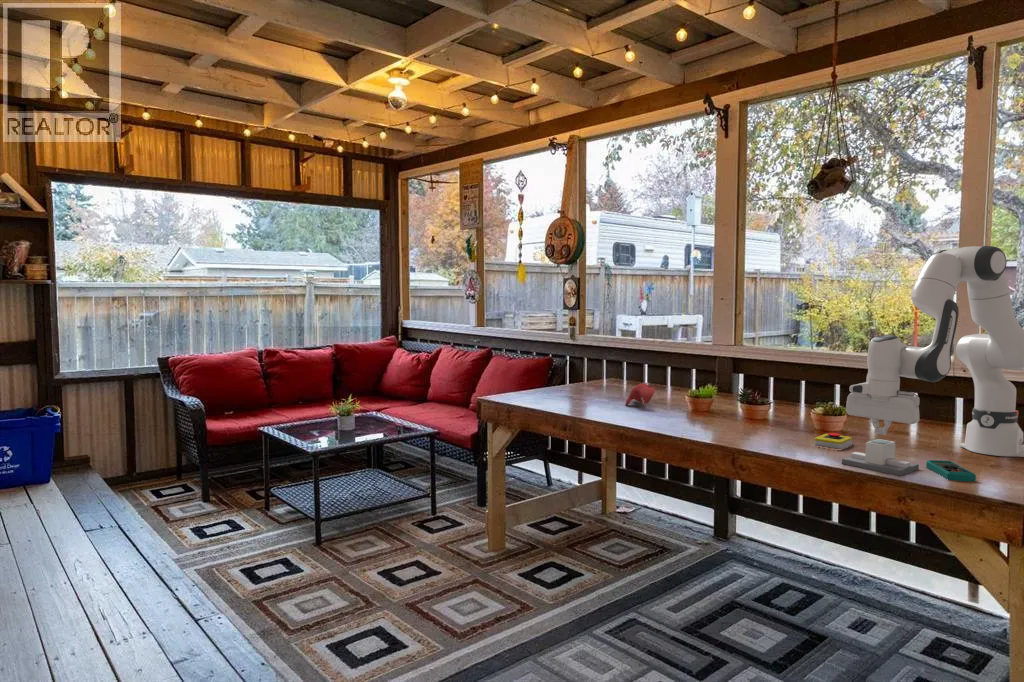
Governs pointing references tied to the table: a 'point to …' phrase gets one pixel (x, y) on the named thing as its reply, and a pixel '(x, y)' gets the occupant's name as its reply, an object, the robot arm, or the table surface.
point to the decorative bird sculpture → (641, 393)
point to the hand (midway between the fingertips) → (880, 433)
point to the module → (879, 451)
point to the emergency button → (833, 441)
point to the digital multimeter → (950, 470)
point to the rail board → (889, 467)
